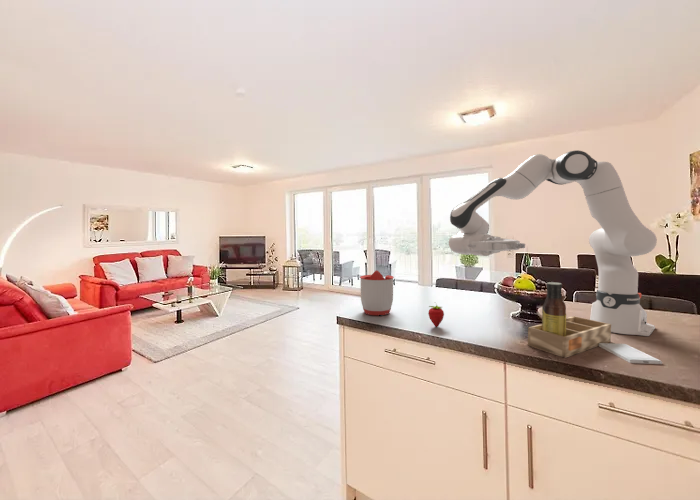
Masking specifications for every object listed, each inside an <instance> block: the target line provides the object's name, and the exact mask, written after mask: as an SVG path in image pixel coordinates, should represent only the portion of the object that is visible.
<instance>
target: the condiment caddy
mask: <svg viewBox="0 0 700 500" xmlns="http://www.w3.org/2000/svg"><path fill="white" fill-rule="evenodd" d="M611 336H612V332H611V324H608V323H603V322H599V321H594V320H590V318H586V317H585V318H584V317H581V316H576V315H575V316H574V315H573V316H568V317H566V336H565V337H563V336H560V335H556V334H553V333H549V332H546V331H542V323H540V324H537V325H533V326H529V327H527V346H529V347H532V348H535V349H537V350H541V351H543V352H546V353H549V354H552V355H556V356H557V357H561V358H564V359H566V358H569V357H571V356H575V355H577V354H581V353H583V352H586V351H588V350H591V349H594V348H598V347H599V343H611V338H612V337H611Z"/></svg>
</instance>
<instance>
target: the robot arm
mask: <svg viewBox="0 0 700 500" xmlns="http://www.w3.org/2000/svg"><path fill="white" fill-rule="evenodd" d="M545 181H547V182H550V183H552V184H555V185H559V186H560V185H563V186H564V185H568V184H571V183H574V182H576V183H578V184H579V186H581V188H582V189H583V190H582V191H583V193H584V197H585V200H586V203H587V207H588V210H589V212H590V215H591V217H592V218H593V219H595V221H596V222H597V223H598V224H599V226H600V228H598V229H595V230H594V231H593V232H591V233H590V235H589V237H588V244H589V245H590V247H591V249H593V253H594V256H595V261H596V264H597V269H598V272H597V273H598V277H597V278H598V280H597V282H598V285H597V290H596V292H595V296H596V297H595V299H596V300H595V301H594V302H591V303H592V304H591V309H590V317H589V319H590V320H594V321H599V322H603V323H608V324H611V333H614V334H621V335H633V336H634V335H637V336H642V337H643V336H644V337H650V336H651V335H652V333H653V331H654V330H655V329H656V326H655V325H654V324H651V323H647V321H648V314H647V313H648V312H647V311H646V310H645V309H644V308H643V307H642V305H641V304H640V303H641V298H642V297H643V296H642V295H643V294H642V293H641V292H638V288H639V271H638V270H637V268H636V267H635V266H634V265H633V262H632V258H631V257H638V256H643V255H647V254H649V253H650V252H652V251H653V250H654V249H655V248H656V246H657V240H658V239H657V236H656V234H655V233H654V232H653V231H652V230H651V229H649V228H648V227H646V225H644V224H643V223H642V222H641V220H640V219H639V217H638V216H637V215H636V213H635V212H634V211H633V208H632V207H631V205H630V203H629V200H628V197H627V195H626V190H625V189H624V186H623V183H622V180H621V178H620V176H619V173H618V172H617V170H616V168H615V167H614V166H613V164H612V163H611V162H608V161H597V160H595V159H594V158H593V157H592V156H591V155H589V154H588V153H587V152H585V151H583V150H570V151H567V152H565V153H563V154H561V155H560V156H557V158H554V159H552V158H549V157H548V156H546V155H544V154H542V153H541V154H540V153H537V154H534V155H532V156H530V157H529V158H527V159H526V160H525V161H523V162H522V163H520V165H518V166H517V167H516V168H515V169H514V170H513V171H512V172H511V173H509V174H508V175H506V176H505V177H497V178H495V179H493V180H492V181H490V182H488V183H487V184H486V185H484V186H483V187H482V188H481V189H480V190H478V191H477V192H475V193H474V194H473V195H472V196H470V197H469V198H468V199H466V200H465V201H463V202H461V203H460V204H458V205H456V206H455V207H453V209H452V210H451V212H450V215H449V220H450V224H451V225H453V226H454V227H455V228H457V229H459V230H460V231H459V232H458V233H456V234H454V235H451V236H450V237H449V238H448V246H449V248H450V250H451V251H452V252H453V253H456V254H461V255H465V256H466V255H467V256H468V255H473V256H478V257H487V256H490V255H493V254H497V253H501V252H507V251H508V252H509V251H518V250H520V249H525V248H526V243H522V242H521V241H520V240H517V239H513V238H512V239H511V238H501V236H495V235H491V234H489V229H490V225H489V222H488V221H486V220H485V219H484V217H483V216H481V215H480V214H479V213H478V212H476V211H477V210H478V209H479V208H481V207H482V206H483V205H485V204H486V203H487V202H488V201H490V200H491V199H492V198H496V197H503V198H506V199H510V200H523V199H526V197H528V196H529V195H530V194H531V193H533V191H534V190H536V189H537V188H538V187H539V186H540V185H541V184H542V183H543V182H545ZM520 242H521V243H520Z"/></svg>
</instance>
